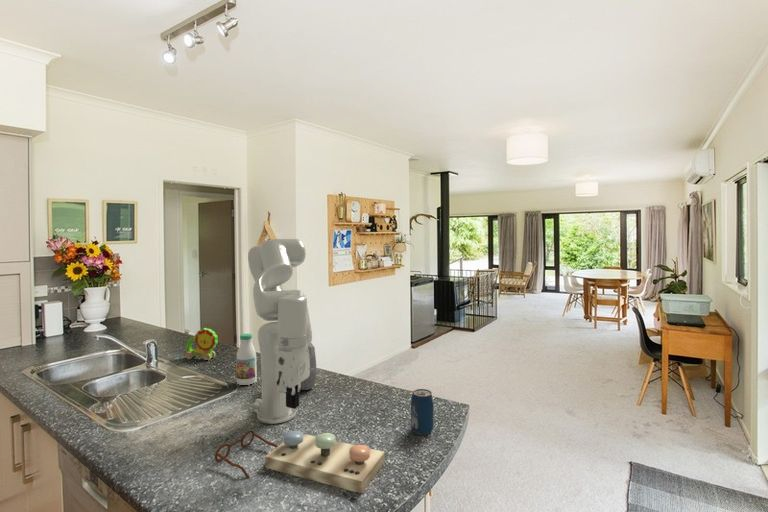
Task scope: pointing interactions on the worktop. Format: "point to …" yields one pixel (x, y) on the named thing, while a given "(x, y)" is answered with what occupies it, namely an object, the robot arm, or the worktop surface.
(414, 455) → the worktop surface
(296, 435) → the slate-blue key
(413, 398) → the soda can
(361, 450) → the terracotta key
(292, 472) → the wooden button board
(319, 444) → the sage key
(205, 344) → the toy lion
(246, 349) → the milk bottle
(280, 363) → the robot arm
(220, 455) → the glasses
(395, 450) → the worktop surface
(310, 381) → the small grey backpack
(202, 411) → the worktop surface
